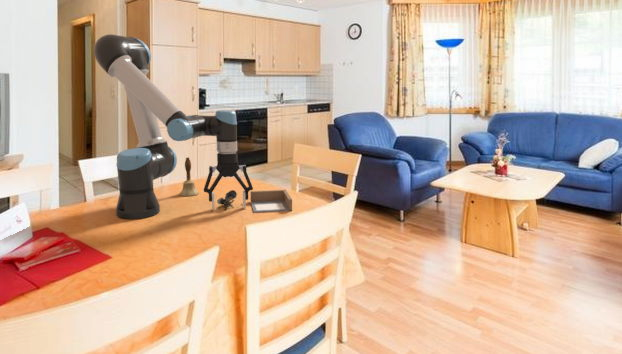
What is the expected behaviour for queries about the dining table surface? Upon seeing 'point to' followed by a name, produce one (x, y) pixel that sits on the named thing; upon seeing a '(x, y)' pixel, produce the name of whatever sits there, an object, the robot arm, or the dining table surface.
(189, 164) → the hand bell
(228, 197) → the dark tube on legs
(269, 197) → the tray
